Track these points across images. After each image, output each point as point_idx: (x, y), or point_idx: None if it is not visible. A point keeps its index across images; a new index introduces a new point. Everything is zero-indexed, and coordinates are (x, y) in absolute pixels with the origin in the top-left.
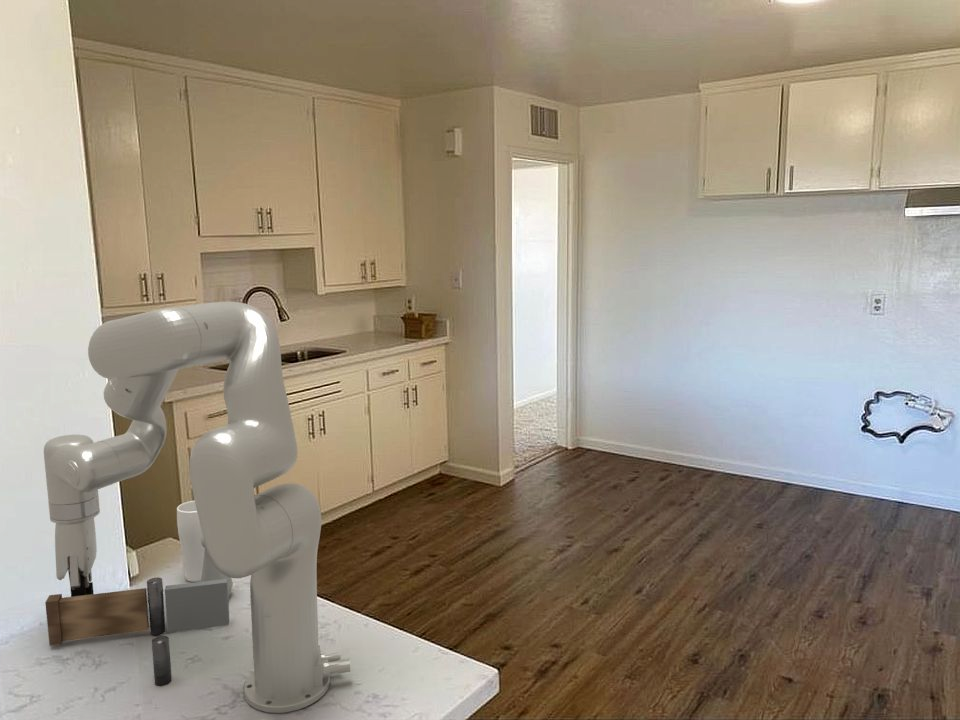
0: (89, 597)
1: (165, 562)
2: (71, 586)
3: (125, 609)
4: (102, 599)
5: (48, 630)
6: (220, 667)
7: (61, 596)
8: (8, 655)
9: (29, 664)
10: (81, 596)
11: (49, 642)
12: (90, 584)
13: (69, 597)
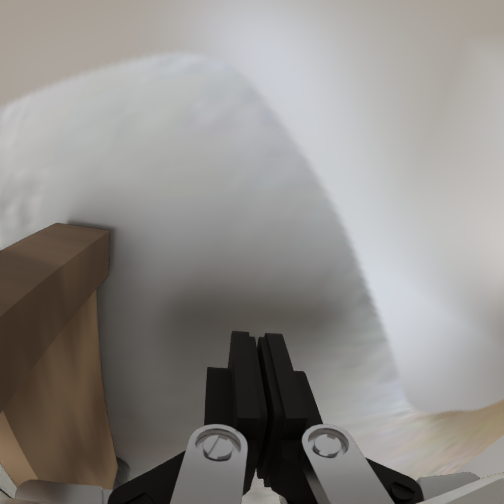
0: (18, 479)
1: (471, 434)
2: (21, 489)
3: None
4: None
5: (20, 242)
6: (6, 476)
7: (3, 399)
8: (89, 72)
9: (7, 165)
10: (23, 465)
11: (49, 226)
12: (264, 478)
13: (5, 427)
